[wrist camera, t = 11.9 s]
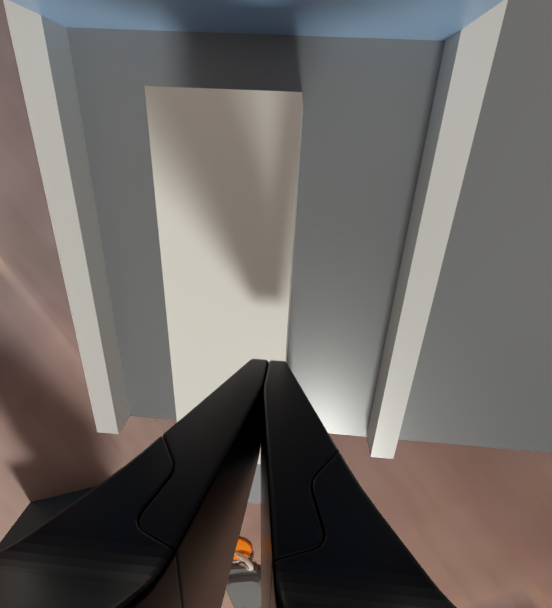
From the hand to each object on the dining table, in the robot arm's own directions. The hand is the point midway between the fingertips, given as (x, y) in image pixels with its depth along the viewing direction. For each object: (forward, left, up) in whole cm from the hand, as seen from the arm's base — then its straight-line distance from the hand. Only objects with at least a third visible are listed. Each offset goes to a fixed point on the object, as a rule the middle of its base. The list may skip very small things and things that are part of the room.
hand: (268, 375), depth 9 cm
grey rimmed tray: (+1, -5, -7) cm, 8 cm away
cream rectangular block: (+1, +1, -6) cm, 6 cm away
